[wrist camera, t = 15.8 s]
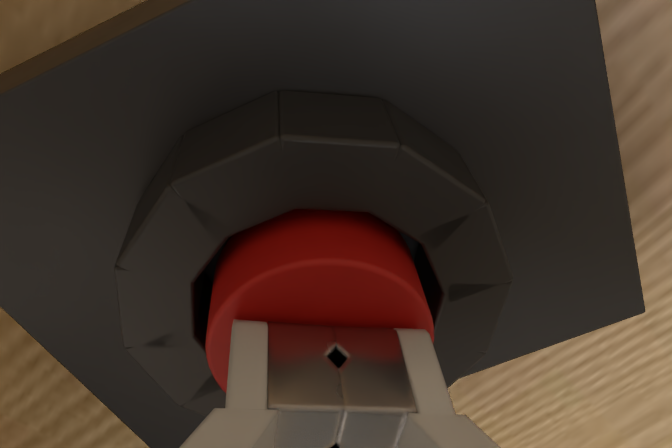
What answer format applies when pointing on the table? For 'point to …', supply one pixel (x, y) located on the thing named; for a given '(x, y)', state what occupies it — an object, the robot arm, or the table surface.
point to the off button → (314, 278)
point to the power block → (309, 177)
